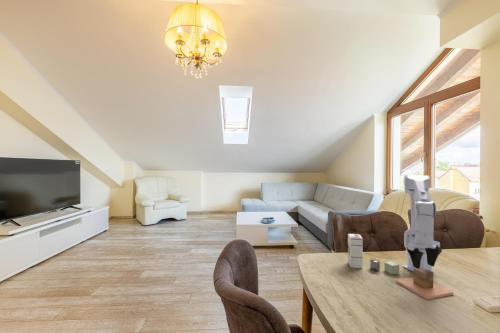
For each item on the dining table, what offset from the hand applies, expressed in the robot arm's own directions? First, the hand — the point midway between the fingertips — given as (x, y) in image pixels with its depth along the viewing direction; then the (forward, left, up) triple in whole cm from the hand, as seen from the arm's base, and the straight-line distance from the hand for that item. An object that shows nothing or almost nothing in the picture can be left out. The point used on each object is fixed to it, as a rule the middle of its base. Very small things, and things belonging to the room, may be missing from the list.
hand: (423, 266), depth 93 cm
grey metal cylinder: (+6, -18, -9) cm, 21 cm away
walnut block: (0, 0, -8) cm, 8 cm away
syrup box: (+12, -24, -9) cm, 28 cm away
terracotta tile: (0, 0, -9) cm, 9 cm away
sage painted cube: (0, -14, -9) cm, 17 cm away
